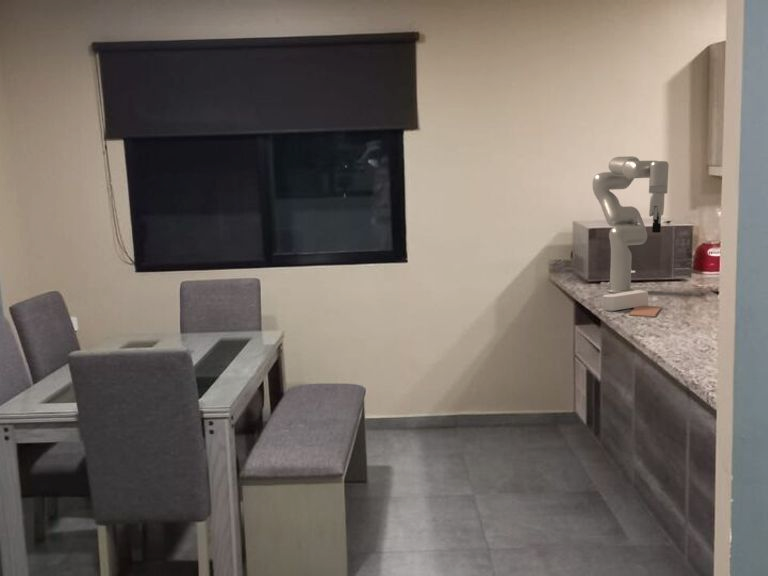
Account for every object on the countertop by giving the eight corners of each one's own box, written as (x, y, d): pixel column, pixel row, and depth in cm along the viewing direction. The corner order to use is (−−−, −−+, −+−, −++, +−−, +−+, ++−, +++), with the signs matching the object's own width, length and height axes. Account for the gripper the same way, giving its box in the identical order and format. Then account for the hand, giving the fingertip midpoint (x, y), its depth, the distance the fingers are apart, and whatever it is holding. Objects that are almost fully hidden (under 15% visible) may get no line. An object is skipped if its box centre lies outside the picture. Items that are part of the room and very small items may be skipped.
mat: (628, 315, 308) (628, 314, 307) (636, 306, 325) (636, 305, 325) (654, 317, 303) (654, 315, 303) (661, 308, 321) (661, 306, 320)
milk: (638, 303, 329) (597, 310, 321) (638, 289, 328) (597, 296, 320) (648, 305, 323) (607, 312, 315) (648, 291, 322) (606, 297, 314)
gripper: (651, 189, 334) (650, 230, 338) (646, 190, 321) (644, 233, 325) (669, 189, 331) (667, 231, 334) (664, 190, 318) (663, 234, 321)
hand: (656, 232), depth 329 cm, fingers closed
